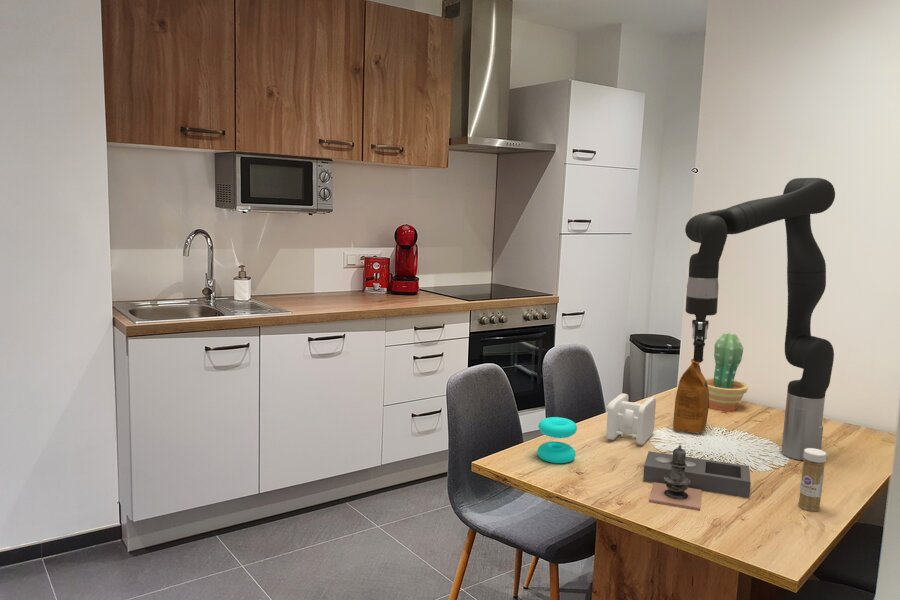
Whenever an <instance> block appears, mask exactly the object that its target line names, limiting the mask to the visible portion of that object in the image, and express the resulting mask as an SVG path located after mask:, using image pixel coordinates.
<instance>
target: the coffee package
mask: <svg viewBox="0 0 900 600" xmlns="http://www.w3.org/2000/svg"><path fill="white" fill-rule="evenodd" d="M693 359H694V357H693V358H691V359H690V362H691V364H690V365H689V367H687V369H686V370H685V371H684V373H683V374H682V375H681V376H680V379H679V382H678V387H677V390H676V395H675V400H674V410H673V418H672V419H673V423H672V429H673V431H675V432H684V433H685V432H687V433H692V434H702V433H703V431H705V428H706V426H707V422H708V413H709V408H710V407H709V389H708V384H707V381H706V379H707V378H705V376H704V374H703V372H702V370H701V366H700V364H701V363H702V362H695V361H694V360H693Z"/></svg>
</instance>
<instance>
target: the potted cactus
mask: <svg viewBox="0 0 900 600" xmlns="http://www.w3.org/2000/svg"><path fill="white" fill-rule="evenodd" d="M713 351H714V353H713V356H714V363H715V366H714V373H713V378H712V377H711V378H705V379H706V381H707V384H708V389H709V408H710V409H714V410H716V411H717V410H718V411H725V412H726V411H727V412H733V411H736V410H737V405H738V404H739V403H740V402H741V400H742V398H743V397H744V394H746V393H747V392H748V389H749V387H750V386H749V385H747V384H745V383H744V382H740V381H737V380H735V377H736V374H737V370H738V367H739V365H740V364H741V362H742V360H743V353H744V347H743V345H742V343H741V340H740V338H739V337H738V336H737V334H735V333H734V334H731V333H730V332H728V333H724V332H723V334H721V335H720V336H719V338H718V339H717V340H716V341H715V342H714V349H713Z"/></svg>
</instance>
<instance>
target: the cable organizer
mask: <svg viewBox="0 0 900 600" xmlns="http://www.w3.org/2000/svg"><path fill="white" fill-rule="evenodd" d="M629 397H630V396H629V394H627V393H623V392H622V393H619V395H617V396H616V397H615V398H614V399H612V400H611V401H610V402H608V405H606V411H607V415H606V416H607V417H606V431H605V433H606V435H605V437H606V439H608V440H611V441H614V440H615V439H616V438H617V437H619V435H620V437H621V438H623V435H624V434H626V435H631V439H634V438H635V440H636V441H635V442H636V444H638V445H639V446H643V445H644V444H645V443H646V442H647V441H648V440H649V438H651V436H652V435H653V433H654V430H655V424H656V423H655V421H656V419H655V418H656V408H657V407H656V406H657V405H656V404H657V400H656V399H657V398H656V397H648V398H647V399H646V400H645V401H644V402H643V403H638V402H631V401H629Z"/></svg>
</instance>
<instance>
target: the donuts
mask: <svg viewBox="0 0 900 600" xmlns="http://www.w3.org/2000/svg"><path fill="white" fill-rule="evenodd" d="M538 430H539V431H540V432H541V434H543V435H544V436H546V437H549V438H554V439H565V438H567V439H568V438H571V437H572V436H574V435H575V434H576V432H577V431H578V425H577V424H576V422H574V421H573V420H571V419H568V418H565V417H561V416H560V417H559V416H551V417H545V418H543V419H541V420H540V421H539V422H538ZM536 453H537V455H538V457H539V459H541V460H542V461H545V462H547V463H551V464H566V463H570V462H572V461H573V460H575V457H576V451H575V449H574V447H572V445H570V444H568V443H566V442H562V441H557V440H556V441H546V442H543V443H542V444H540V445H539V446H538V447H537V451H536Z"/></svg>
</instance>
